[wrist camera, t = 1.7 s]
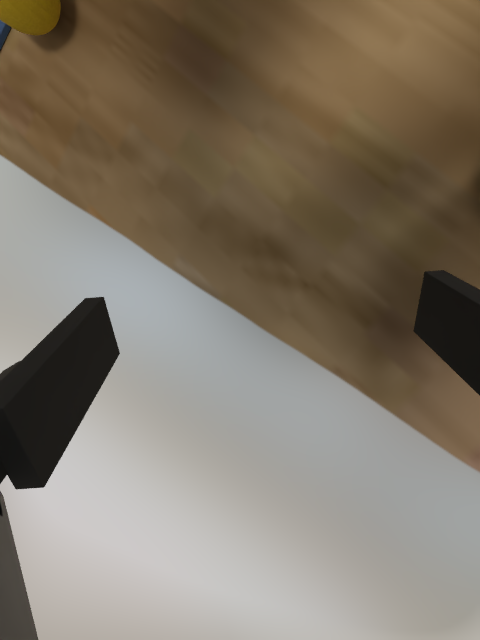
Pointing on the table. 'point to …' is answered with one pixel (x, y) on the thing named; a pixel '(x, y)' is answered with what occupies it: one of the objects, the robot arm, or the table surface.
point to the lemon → (30, 15)
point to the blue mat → (3, 32)
